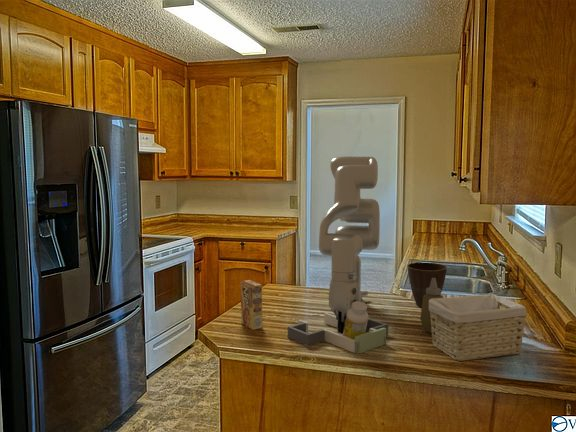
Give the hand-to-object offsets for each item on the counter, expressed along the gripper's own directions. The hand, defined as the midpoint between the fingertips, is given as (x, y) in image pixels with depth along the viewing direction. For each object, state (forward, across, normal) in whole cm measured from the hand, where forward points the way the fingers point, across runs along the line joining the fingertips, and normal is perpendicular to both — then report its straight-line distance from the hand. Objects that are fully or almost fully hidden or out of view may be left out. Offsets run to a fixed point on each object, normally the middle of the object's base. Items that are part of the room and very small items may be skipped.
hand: (342, 332), depth 157 cm
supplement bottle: (+1, -4, 0) cm, 4 cm away
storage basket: (+3, -31, -25) cm, 40 cm away
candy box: (+2, +29, +16) cm, 33 cm away
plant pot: (+2, +7, -52) cm, 52 cm away
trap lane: (+2, +2, -1) cm, 3 cm away
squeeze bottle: (+2, -13, -29) cm, 32 cm away
